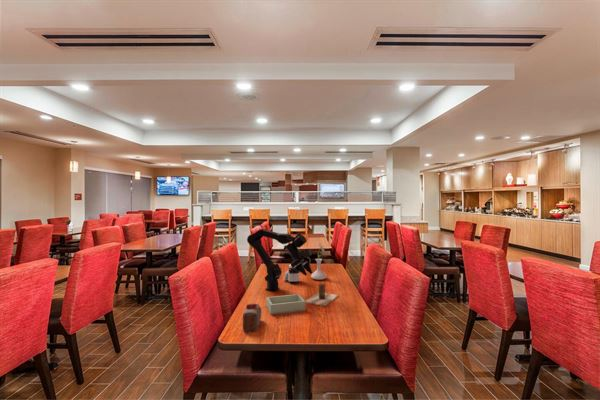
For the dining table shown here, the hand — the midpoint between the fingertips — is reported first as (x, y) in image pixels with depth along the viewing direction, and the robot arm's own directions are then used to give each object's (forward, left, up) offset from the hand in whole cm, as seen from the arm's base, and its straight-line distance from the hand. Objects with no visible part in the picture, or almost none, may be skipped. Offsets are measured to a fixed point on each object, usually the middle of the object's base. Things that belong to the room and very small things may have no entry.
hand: (309, 274), depth 180 cm
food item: (-1, -48, -13) cm, 50 cm away
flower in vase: (-14, +37, -13) cm, 42 cm away
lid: (+9, 0, -14) cm, 16 cm away
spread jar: (-26, +20, -13) cm, 36 cm away
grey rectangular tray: (0, -23, -13) cm, 27 cm away
